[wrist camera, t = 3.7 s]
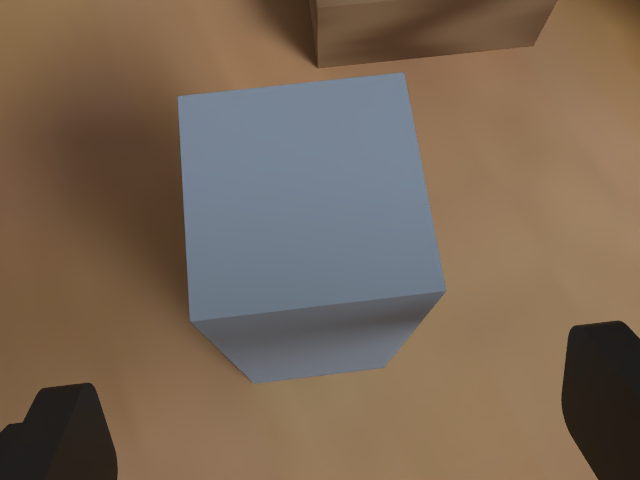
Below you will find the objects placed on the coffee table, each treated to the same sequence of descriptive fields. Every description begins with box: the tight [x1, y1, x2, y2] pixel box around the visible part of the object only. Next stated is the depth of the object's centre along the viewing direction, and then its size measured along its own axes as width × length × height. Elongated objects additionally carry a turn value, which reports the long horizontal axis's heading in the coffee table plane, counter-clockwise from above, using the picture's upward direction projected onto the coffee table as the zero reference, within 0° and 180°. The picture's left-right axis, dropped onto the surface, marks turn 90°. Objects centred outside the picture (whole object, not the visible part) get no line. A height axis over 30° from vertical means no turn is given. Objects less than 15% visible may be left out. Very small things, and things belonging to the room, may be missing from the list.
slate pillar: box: [178, 72, 446, 384], centre depth 17 cm, size 4×4×11 cm
